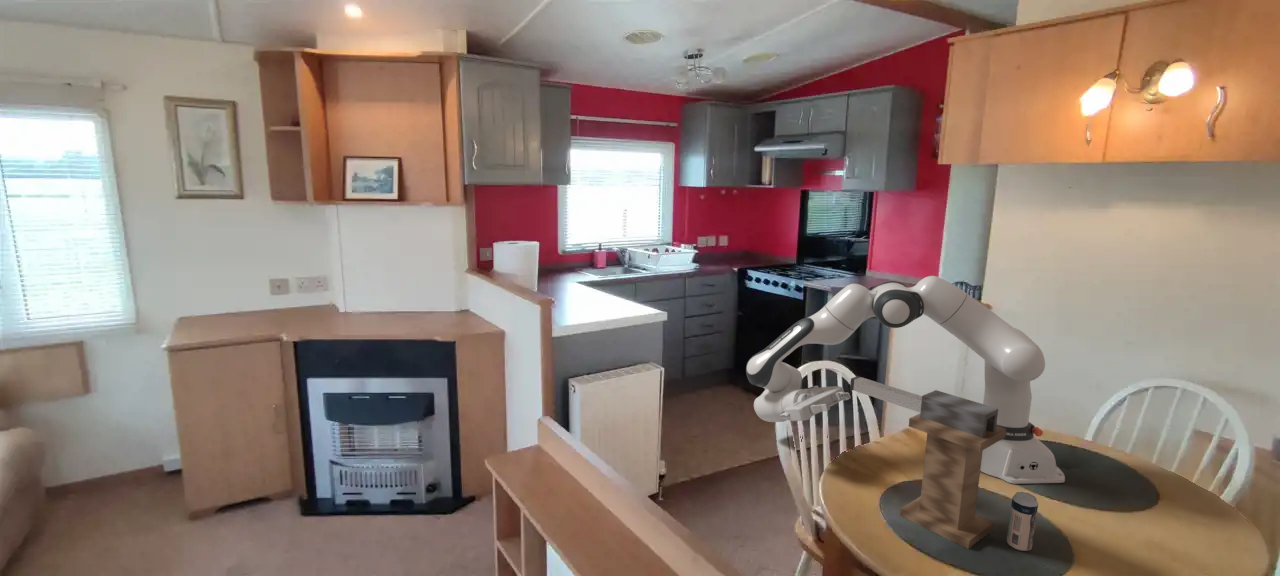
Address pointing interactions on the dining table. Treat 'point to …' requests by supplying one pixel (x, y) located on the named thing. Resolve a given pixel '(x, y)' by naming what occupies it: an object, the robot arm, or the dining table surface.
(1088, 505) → the dining table surface
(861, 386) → the spindle bar
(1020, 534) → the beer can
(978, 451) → the stand
